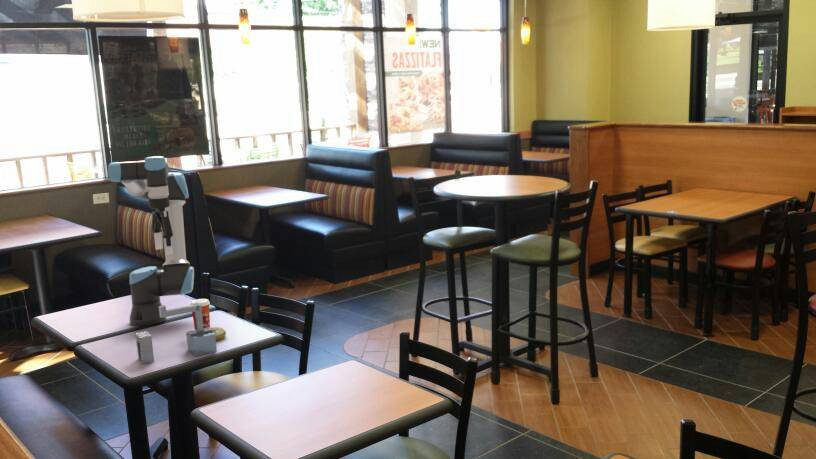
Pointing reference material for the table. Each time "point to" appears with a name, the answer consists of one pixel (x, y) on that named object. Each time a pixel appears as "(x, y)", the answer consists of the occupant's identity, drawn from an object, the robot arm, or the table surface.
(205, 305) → the paper cup
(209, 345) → the hook
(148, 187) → the robot arm
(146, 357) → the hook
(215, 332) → the decorated donut
